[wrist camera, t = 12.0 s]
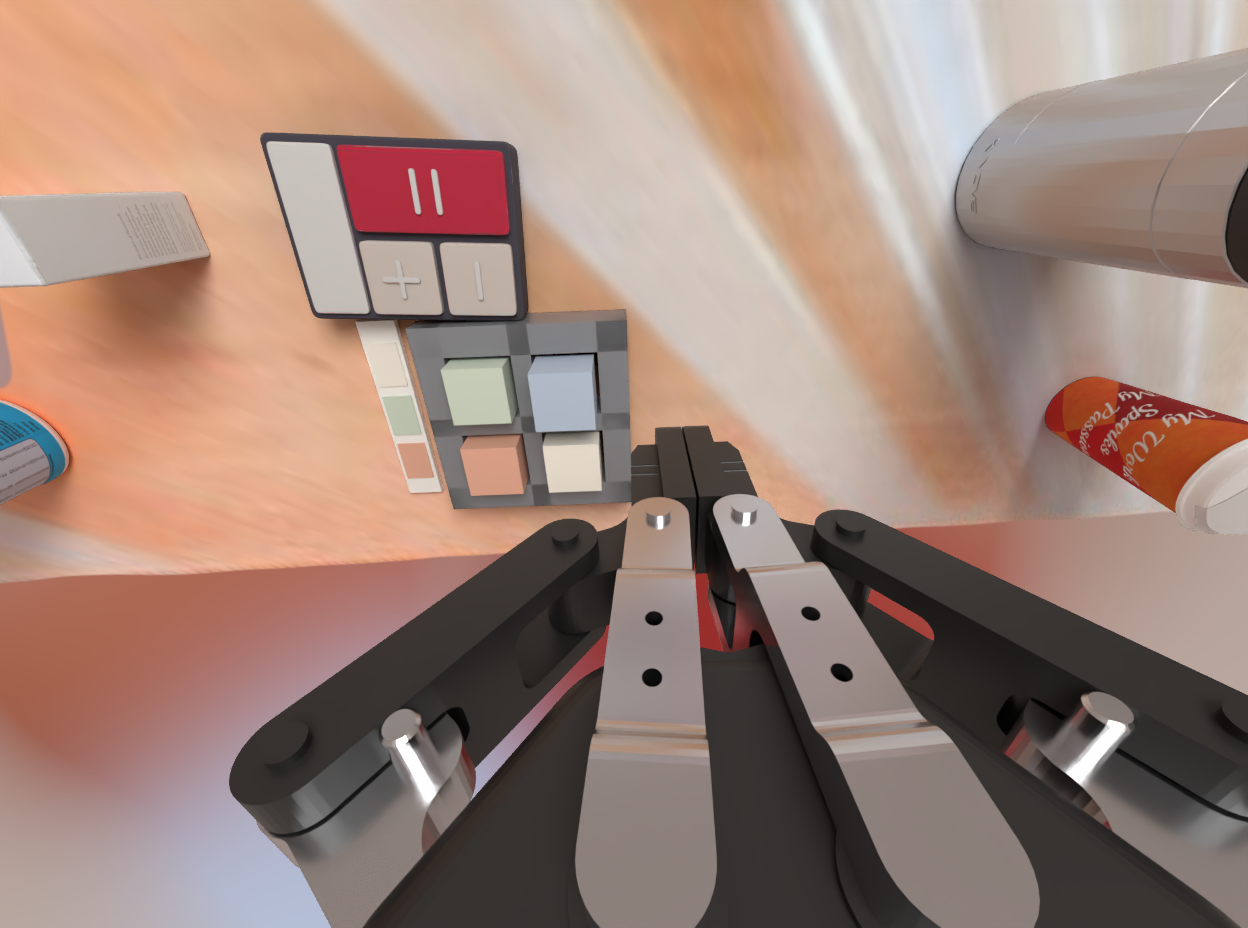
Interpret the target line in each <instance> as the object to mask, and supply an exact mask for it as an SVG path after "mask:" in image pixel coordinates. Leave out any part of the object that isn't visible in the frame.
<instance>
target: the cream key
mask: <svg viewBox="0 0 1248 928" xmlns="http://www.w3.org/2000/svg"><path fill="white" fill-rule="evenodd" d="M543 454H544V461H545V468H546V475H547V482H548V489H549V493H556V492H581V491H602V472H603V463H602V448H601V433H600V430H599V431H573V432H548V433H546V435H545V439H544V443H543Z"/></svg>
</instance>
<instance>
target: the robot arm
mask: <svg viewBox="0 0 1248 928" xmlns="http://www.w3.org/2000/svg"><path fill="white" fill-rule="evenodd" d="M956 210H957V215H958V219H959V222H960V224H961V226H962V228H963V230H964V232H965V233H966V234H967V235H968V236H969V237H970V238H971V239H972V240H974V241H975V242H977V243H979V244H981V245H983V246H988V247H994V248H999V249H1005V250H1012V251H1018V252H1024V253H1028V254H1034V255H1041V256H1047V257H1053V258H1059V259H1066V260H1072V261H1078V262H1084V263H1091V264H1097V265H1103V266H1110V267H1116V268H1122V269H1128V270H1135V271H1141V272H1147V273H1153V274H1160V275H1166V276H1172V277H1178V278H1185V279H1193V280H1200V281H1206V282H1212V283H1218V284H1225V285H1231V286H1237V287H1244V288H1248V48H1246V49H1241V50H1237V51H1232V52H1228V53H1223V54H1218V55H1214V56H1209V57H1205V58H1200V59H1196V60H1191V61H1187V62H1182V63H1178V64H1173V65H1168V66H1164V67H1159V68H1155V69H1150V70H1146V71H1141V72H1137V73H1132V74H1127V75H1123V76H1118V77H1114V78H1109V79H1105V80H1099V81H1094V82H1090V83H1085V84H1081V85H1076V86H1072V87H1067V88H1063V89H1058V90H1054V91H1049V92H1045V93H1041V94H1038V95H1034V96H1031V97H1029V98H1027V99H1025V100H1023V101H1021V102H1019V103H1017V104H1015V105H1014V106H1012V107H1011V108H1010V109H1008V110H1007V111H1005V112H1004V113H1003V114H1001V115H1000V116H999V117H998V118H997V119H996V120H995V121H994V122H993V123H992V124H991V125H990V126H989V127H988V128H987V129H986V130H985V131H984V133H983V134H982V135H981V137H980V138H979V139H978V141H977V142H976V143H975V145H974V146H973V148H972V150H971V152H970V154H969V155H968V157H967V159H966V161H965V163H964V166H963V169H962V171H961V174H960V177H959V181H958V186H957V192H956ZM631 502H632V507H631V508H630V510H629V513H628V517H627V518H626V519H625V520H624V521H623V522H622V523H620V524H618V525H617V526H614V527H612V528H609V529H606V530H602V531H598V532H597V531H596V529H595V528H594V527H593V526H592V525H591V524H590V523H588V522H586V521H583V520H579V519H562V520H557V521H554V522H552V523H550V524H547V525H546V526H544V527H543V528H541V529H540V530H538V531H537V532H536V533H534V534H533V535H531V536H530V537H529V538H527V539H526V540H524V541H523V542H522V543H520V544H519V545H517V546H516V547H514V548H513V549H512V550H510V551H509V552H507V553H506V554H505V555H503V556H502V557H500V558H499V559H497V560H496V561H495V562H493V563H492V564H490V565H489V566H488V567H486V568H485V569H484V570H482V571H481V572H479V573H478V574H477V575H475V576H474V577H472V578H471V579H469V580H468V581H466V582H465V583H464V584H462V585H461V586H459V587H458V588H456V589H455V590H454V591H452V592H451V593H449V594H448V595H447V596H445V597H444V598H442V599H441V600H440V601H438V602H437V603H435V604H434V605H432V606H431V607H430V608H428V609H427V610H426V611H424V612H423V613H421V614H420V615H418V616H417V617H416V618H414V619H413V620H411V621H410V622H408V623H407V624H406V625H404V626H403V627H401V628H400V629H399V630H397V631H396V632H394V633H393V634H391V635H390V636H389V637H387V638H386V639H384V640H383V641H382V642H380V643H379V644H377V645H376V646H375V647H373V648H372V649H370V650H369V651H368V652H366V653H365V654H363V655H362V656H360V657H359V658H358V659H356V660H355V661H353V662H352V663H351V664H349V665H348V666H346V667H345V668H343V669H342V670H341V671H339V672H338V673H336V674H335V675H334V676H332V677H331V678H329V679H328V680H326V681H325V682H324V683H322V684H321V685H319V686H318V687H317V688H315V689H314V690H312V691H311V692H310V693H308V694H307V695H305V696H304V697H302V698H301V699H300V700H298V701H297V702H296V703H294V704H293V705H291V706H290V707H288V708H287V709H285V710H284V711H283V712H281V713H280V714H279V715H277V716H276V717H274V718H273V719H271V720H270V721H269V722H267V723H266V724H265V725H264V726H262V727H261V728H260V729H259V730H258V731H257V732H256V733H255V734H254V735H253V736H252V737H251V738H250V739H249V740H248V742H247V743H246V744H245V745H244V747H243V748H242V749H241V751H240V753H239V754H238V756H237V757H236V759H235V762H234V764H233V766H232V769H231V773H230V778H229V779H230V780H229V786H230V791H231V793H232V795H233V796H234V797H235V798H236V800H237V801H238V802H239V803H240V804H241V805H242V806H243V807H244V808H245V809H246V810H247V811H248V812H249V813H250V814H251V815H252V816H253V817H254V818H255V819H256V822H257V825H258V827H259V829H260V830H261V831H262V832H263V833H264V834H265V835H266V836H267V837H268V838H269V839H270V840H271V841H272V842H273V843H274V844H275V845H276V846H277V847H278V848H279V849H280V850H281V851H282V852H283V853H284V854H285V856H287V858H289V860H290V861H291V862H292V863H293V864H294V865H295V866H297V867H299V868H300V869H301V871H302V873H303V875H304V877H305V878H306V880H307V882H308V884H309V886H310V888H311V890H312V892H313V893H314V895H315V897H316V899H317V901H318V903H319V905H320V907H321V909H322V911H323V912H324V914H325V916H326V918H327V920H328V922H329V924H330V926H331V928H1248V695H1246V694H1244V693H1242V692H1240V691H1238V690H1235V689H1233V688H1231V687H1229V686H1227V685H1225V684H1223V683H1220V682H1218V681H1216V680H1214V679H1212V678H1210V677H1208V676H1206V675H1204V674H1201V673H1199V672H1197V671H1195V670H1193V669H1191V668H1188V667H1186V666H1184V665H1182V664H1180V663H1178V662H1176V661H1174V660H1172V659H1170V658H1168V657H1165V656H1163V655H1161V654H1159V653H1157V652H1154V651H1153V650H1151V649H1148V648H1146V647H1144V646H1142V645H1140V644H1138V643H1136V642H1134V641H1131V640H1129V639H1127V638H1125V637H1123V636H1121V635H1119V634H1117V633H1114V632H1112V631H1110V630H1108V629H1106V628H1104V627H1102V626H1100V625H1097V624H1095V623H1093V622H1091V621H1089V620H1087V619H1084V618H1082V617H1080V616H1078V615H1076V614H1074V613H1072V612H1070V611H1067V610H1066V609H1064V608H1061V607H1059V606H1057V605H1055V604H1053V603H1051V602H1049V601H1047V600H1044V599H1042V598H1040V597H1038V596H1036V595H1034V594H1031V593H1029V592H1027V591H1025V590H1023V589H1021V588H1019V587H1017V586H1015V585H1012V584H1010V583H1008V582H1006V581H1004V580H1002V579H1000V578H998V577H996V576H993V575H991V574H989V573H987V572H985V571H983V570H980V569H979V568H976V567H974V566H972V565H970V564H968V563H966V562H963V561H961V560H959V559H957V558H955V557H953V556H951V555H949V554H947V553H945V552H942V551H940V550H938V549H936V548H934V547H932V546H930V545H928V544H926V543H923V542H921V541H919V540H917V539H915V538H913V537H911V536H908V535H906V534H904V533H902V532H900V531H898V530H896V529H894V528H892V527H889V526H887V525H885V524H883V523H881V522H879V521H877V520H875V519H872V518H870V517H868V516H866V515H864V514H861V513H858V512H854V511H849V510H830V511H827V512H824V513H822V514H820V515H819V516H818V517H817V519H816V521H815V525H814V526H813V525H808V524H802V523H796V522H791V521H787V520H784V519H781V518H779V517H778V515H777V513H776V511H775V510H774V508H773V507H772V506H771V505H770V504H769V503H768V502H767V501H765V500H763V499H761V498H759V497H758V496H757V493H756V491H755V489H754V486H753V484H752V481H751V479H750V477H749V474H748V472H747V471H746V467H745V465H744V463H743V460H742V457H741V455H740V453H739V450H738V449H736V448H735V447H734V446H732V445H731V444H730V443H729V442H714V441H713V438H712V435H711V432H710V429H709V426H684V427H682V430H681V427H662V428H655V445H638V446H637V447H636V449H635V450H634V451H633V452H632V454H631ZM694 564H695V569H696V573H707V575H708V580H709V587H708V600H709V604H710V607H711V610H712V614H713V617H714V621H715V624H716V627H717V631H718V634H719V637H720V641H721V644H722V647H723V651H724V652H722V651H717V650H712V649H706V648H701V647H700V640H699V627H698V611H697V597H696V582H695V572H694ZM871 588H872V589H874V590H875V591H877V592H879V593H881V594H883V595H884V596H886V597H888V598H889V599H891V600H893V601H895V602H896V603H898V604H900V605H902V606H903V607H905V608H907V609H908V610H910V611H912V612H914V613H915V614H917V615H919V616H920V617H922V618H923V619H924V620H926V622H928V624H929V625H930V626H931V628H932V630H933V632H934V641H933V640H930V639H928V638H926V637H925V636H923V635H921V634H920V633H918V632H916V631H915V630H913V629H911V628H910V627H908V626H906V625H905V624H903V623H901V622H900V621H898V620H896V619H895V618H893V617H891V616H890V615H888V614H887V613H885V612H883V611H882V610H880V609H878V608H877V607H874V606H873V605H872V604H870V603H868V602H867V601H868V597H869V594H870V591H871ZM607 625H610V626H609V634H608V641H607V649H606V656H605V664H604V666H603V667H600V668H599V669H597V670H595V671H593V672H591V673H589V674H588V675H586V676H585V677H584V678H582V679H581V680H579V681H578V682H577V683H576V684H575V685H574V686H572V687H571V688H570V689H569V690H568V691H567V692H566V693H565V694H564V695H563V696H562V697H561V699H560V700H559V701H558V702H557V703H556V704H555V705H554V707H553V708H552V709H551V710H550V711H549V712H548V713H547V715H546V716H545V717H544V718H543V719H542V720H541V721H540V723H539V724H538V725H537V726H536V727H535V728H534V729H533V731H532V732H531V733H530V734H529V735H528V736H527V737H526V739H525V740H524V741H523V742H522V743H521V744H520V745H519V747H518V748H517V749H516V750H515V751H514V753H512V755H511V756H510V757H509V758H508V759H507V760H506V761H505V763H504V764H503V765H502V766H501V767H500V768H499V769H498V771H497V772H496V773H495V774H494V775H493V776H492V777H491V779H490V780H489V781H488V782H487V783H486V784H485V785H484V787H483V788H482V789H481V790H480V791H479V792H478V793H477V795H476V796H475V797H474V798H473V799H472V801H471V798H472V796H473V793H474V789H475V784H476V771H475V768H476V767H477V765H479V763H480V762H481V761H482V760H483V759H484V758H485V757H486V756H487V755H488V754H489V753H490V752H491V751H492V750H493V749H494V748H495V747H496V746H497V745H498V744H499V743H500V742H501V741H502V740H503V739H504V738H505V737H506V736H507V735H508V733H509V732H510V731H511V730H512V729H513V728H514V727H515V726H516V725H517V724H518V723H519V722H520V721H521V720H522V719H523V718H524V717H525V716H526V715H527V714H528V713H529V712H530V711H531V710H532V709H533V707H535V706H536V704H538V702H539V701H540V700H541V699H542V698H543V697H544V696H545V695H546V694H547V693H548V692H549V691H550V690H551V689H552V688H553V687H554V686H555V685H556V684H557V683H558V682H559V681H560V680H561V679H562V678H563V677H564V676H565V674H567V673H568V671H569V670H570V669H571V668H572V667H573V666H574V665H575V664H576V663H577V662H578V661H579V660H580V659H581V658H582V657H583V656H584V655H585V654H586V653H587V652H588V651H589V650H590V649H591V647H592V646H594V645H595V643H597V641H598V640H599V639H600V638H601V637H602V636H603V634H604V632H605V629H606V626H607Z"/></svg>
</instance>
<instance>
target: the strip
mask: <svg viewBox="0 0 1248 928" xmlns="http://www.w3.org/2000/svg"><path fill="white" fill-rule="evenodd" d="M355 323H356V326H357V329H358V333H359V336H360V339H361V342H362V345H363V348H364V351H365V354H366V357H367V360H368V364H369V367H370V370H371V373H372V376H373V379H374V382H375V385H376V388H377V392H378V395H379V398H380V401H381V404H382V407H383V410H384V413H385V416H386V419H387V423H388V426H389V429H390V432H391V435H392V438H393V441H394V444H395V447H396V451H397V454H398V457H399V460H400V463H401V466H402V469H403V472H404V475H405V479H406V482H407V485H408V488H409V491H410V493H423V492H442V490H443V489H444V488H443V484H442V480H441V477H440V473H439V469H438V466H437V462H436V459H435V455H434V451H433V448H432V444H431V440H430V437H429V433H428V430H427V426H426V422H425V419H424V415H423V412H422V408H421V404H420V401H419V397H418V393H417V390H416V386H415V383H414V379H413V375H412V372H411V368H410V364H409V361H408V357H407V354H406V350H405V346H404V343H403V339H402V336H401V332H400V328H399V325H398V321H397V319H372V320H358V321H356V322H355Z"/></svg>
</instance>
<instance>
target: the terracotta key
mask: <svg viewBox="0 0 1248 928" xmlns="http://www.w3.org/2000/svg"><path fill="white" fill-rule="evenodd" d="M460 452H461V456H462V460H463V464H464V469H465V473H466V477H467V481H468V485H469V489H470V493H471V496H480V495H506V494H524V492H525V488H526V485H527V481H528V478H529V475H530V474H529V468H528V462H527V456H526V449H525V443H524V437H523V433H522V434H497V435H471V436H468V437H467V438H466V440H465V442H464V444H463V445H462V447H461V449H460Z"/></svg>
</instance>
